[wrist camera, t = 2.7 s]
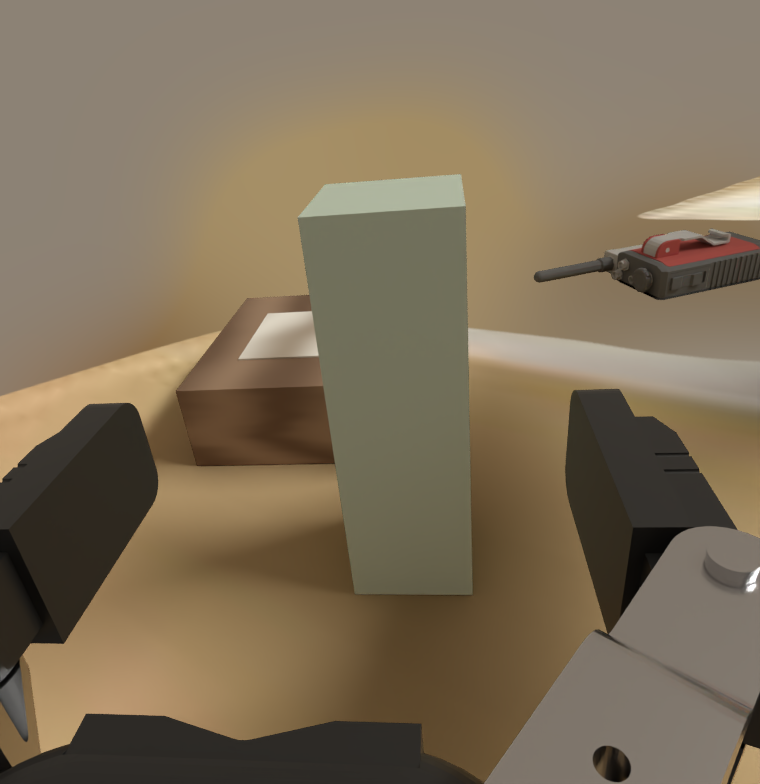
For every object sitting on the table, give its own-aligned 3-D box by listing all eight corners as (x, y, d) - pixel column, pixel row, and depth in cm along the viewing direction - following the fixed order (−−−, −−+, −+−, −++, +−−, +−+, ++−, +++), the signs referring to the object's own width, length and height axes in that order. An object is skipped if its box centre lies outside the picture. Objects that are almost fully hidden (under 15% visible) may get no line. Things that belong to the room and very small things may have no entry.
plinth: (412, 352, 46) (408, 288, 44) (402, 461, 34) (395, 381, 32) (259, 358, 48) (246, 297, 45) (197, 465, 36) (175, 389, 33)
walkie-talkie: (707, 252, 61) (528, 288, 57) (715, 208, 59) (529, 241, 55) (781, 278, 54) (581, 320, 50) (793, 228, 52) (585, 268, 48)
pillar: (468, 515, 30) (460, 174, 22) (472, 594, 26) (465, 206, 18) (367, 516, 30) (325, 184, 23) (355, 594, 26) (297, 217, 18)
